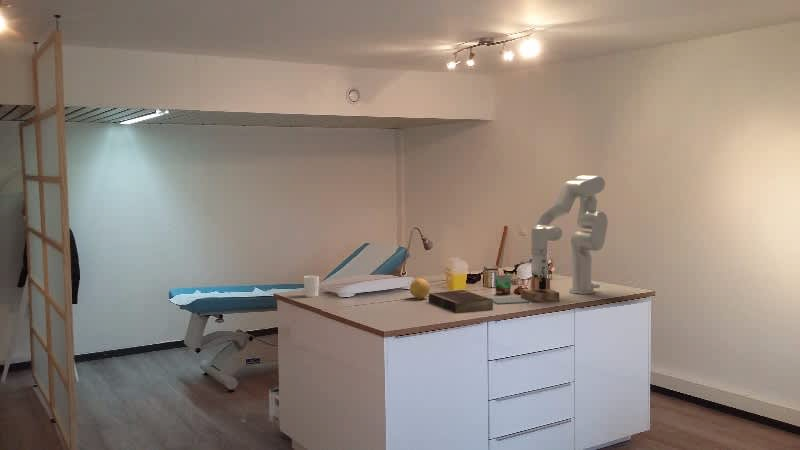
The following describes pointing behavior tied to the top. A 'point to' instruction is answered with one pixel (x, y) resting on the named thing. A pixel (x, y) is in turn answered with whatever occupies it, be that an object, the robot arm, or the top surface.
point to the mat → (509, 300)
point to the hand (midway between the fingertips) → (539, 287)
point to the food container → (503, 283)
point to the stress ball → (419, 288)
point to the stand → (539, 295)
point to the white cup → (311, 286)
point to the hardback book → (461, 301)
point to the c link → (535, 283)
